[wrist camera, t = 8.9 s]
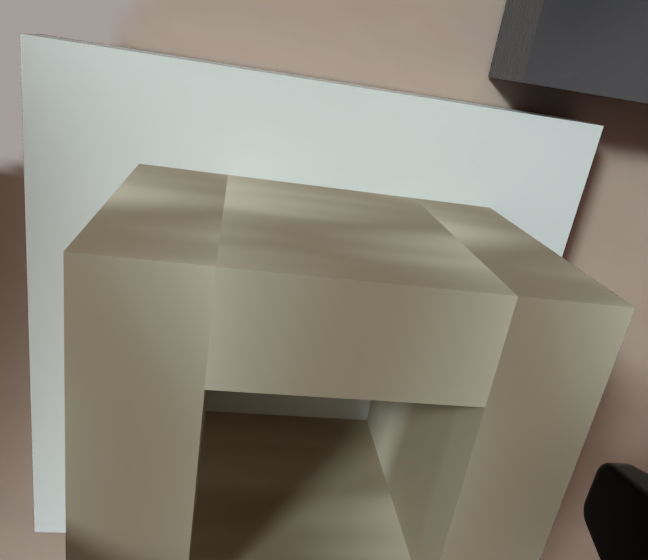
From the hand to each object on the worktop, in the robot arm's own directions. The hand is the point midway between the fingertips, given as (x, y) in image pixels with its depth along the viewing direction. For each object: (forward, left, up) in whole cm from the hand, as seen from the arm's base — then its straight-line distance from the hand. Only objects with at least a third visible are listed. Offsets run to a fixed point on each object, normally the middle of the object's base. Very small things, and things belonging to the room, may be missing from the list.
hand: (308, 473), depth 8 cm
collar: (0, 0, -4) cm, 4 cm away
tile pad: (0, 0, -5) cm, 5 cm away
